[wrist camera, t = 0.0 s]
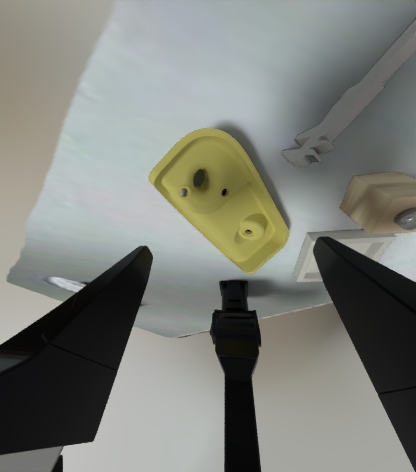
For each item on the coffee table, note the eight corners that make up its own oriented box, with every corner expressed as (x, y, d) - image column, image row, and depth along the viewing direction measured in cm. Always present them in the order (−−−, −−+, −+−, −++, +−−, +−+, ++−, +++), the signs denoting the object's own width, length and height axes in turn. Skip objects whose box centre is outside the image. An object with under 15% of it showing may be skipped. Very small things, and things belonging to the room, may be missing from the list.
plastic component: (293, 238, 23) (244, 281, 24) (263, 221, 29) (225, 255, 30) (218, 99, 13) (136, 185, 13) (196, 118, 19) (141, 176, 20)
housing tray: (352, 272, 30) (359, 281, 29) (293, 273, 32) (296, 281, 30) (385, 228, 23) (396, 236, 22) (306, 232, 25) (312, 240, 23)
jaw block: (375, 205, 21) (426, 238, 16) (339, 207, 22) (376, 240, 16) (396, 171, 18) (467, 198, 13) (353, 176, 19) (404, 203, 14)
